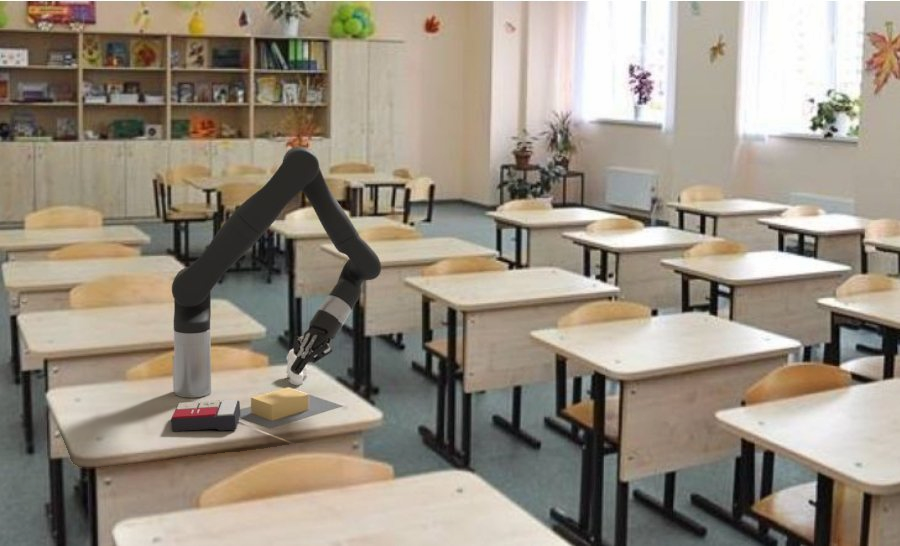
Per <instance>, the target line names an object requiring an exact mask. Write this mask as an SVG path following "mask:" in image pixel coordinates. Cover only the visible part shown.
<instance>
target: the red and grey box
mask: <svg viewBox="0 0 900 546" xmlns="http://www.w3.org/2000/svg"><path fill="white" fill-rule="evenodd" d="M240 406H241V405H240V400H237V399H229V400H227V399H226V400H222V401H221V400H220V399H219V400H204V401H202V400H201V401H187V402H179V403H178V404H177V406H176V407H175V410H174V412H173V414H172V416H171V418H170V426H171V432H183V431H186V432H187V431H197V430H198V431H199V430H215V429H217V430H219V431H220V432H221V431H234V430H236V429H237V427H238V424H239V421H240V409H241V407H240Z"/></svg>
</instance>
